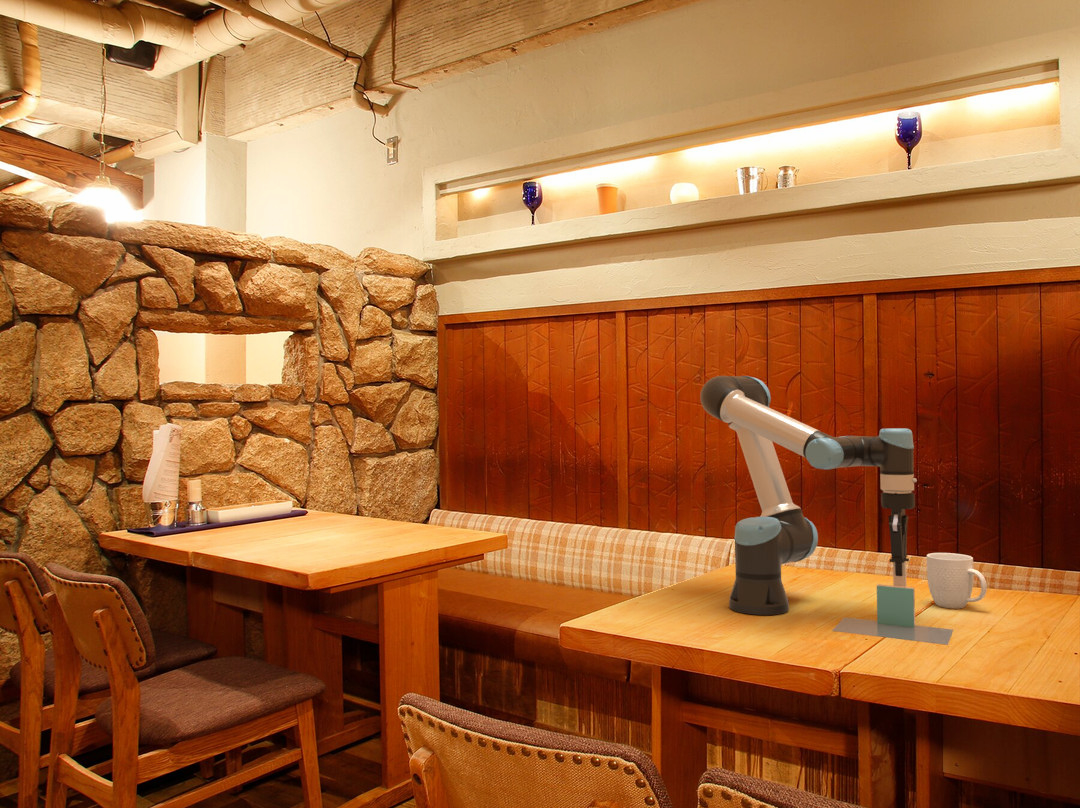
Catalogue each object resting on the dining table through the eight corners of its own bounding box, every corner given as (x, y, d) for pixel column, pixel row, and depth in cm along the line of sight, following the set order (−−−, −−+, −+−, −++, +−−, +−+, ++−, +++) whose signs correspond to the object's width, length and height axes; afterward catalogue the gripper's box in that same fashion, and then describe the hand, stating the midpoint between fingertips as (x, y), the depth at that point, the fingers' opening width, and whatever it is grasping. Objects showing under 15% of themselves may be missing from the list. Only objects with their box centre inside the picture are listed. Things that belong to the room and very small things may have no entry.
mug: (997, 609, 210) (996, 558, 210) (974, 616, 204) (973, 563, 204) (942, 599, 222) (941, 551, 222) (918, 604, 216) (917, 555, 216)
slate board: (832, 634, 188) (832, 630, 188) (844, 621, 200) (844, 617, 200) (947, 649, 176) (947, 644, 176) (953, 633, 188) (953, 629, 188)
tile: (877, 623, 194) (876, 585, 194) (878, 621, 196) (878, 584, 196) (914, 627, 190) (913, 589, 190) (915, 625, 192) (914, 587, 192)
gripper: (910, 494, 191) (913, 595, 191) (917, 489, 202) (920, 585, 202) (876, 493, 195) (879, 592, 195) (885, 488, 206) (887, 582, 206)
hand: (900, 588), depth 198 cm, fingers closed
